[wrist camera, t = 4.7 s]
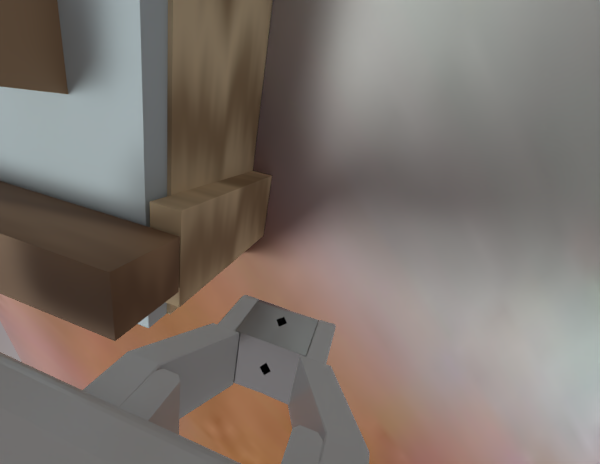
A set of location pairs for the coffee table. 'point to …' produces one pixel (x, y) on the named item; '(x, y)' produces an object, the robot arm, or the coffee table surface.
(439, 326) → the coffee table surface
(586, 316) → the coffee table surface
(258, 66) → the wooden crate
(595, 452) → the coffee table surface
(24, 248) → the bar
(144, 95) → the lid
